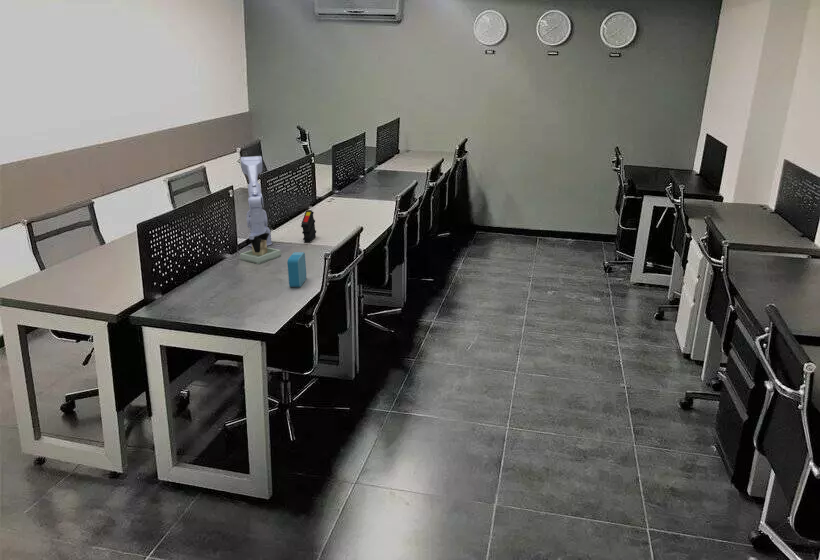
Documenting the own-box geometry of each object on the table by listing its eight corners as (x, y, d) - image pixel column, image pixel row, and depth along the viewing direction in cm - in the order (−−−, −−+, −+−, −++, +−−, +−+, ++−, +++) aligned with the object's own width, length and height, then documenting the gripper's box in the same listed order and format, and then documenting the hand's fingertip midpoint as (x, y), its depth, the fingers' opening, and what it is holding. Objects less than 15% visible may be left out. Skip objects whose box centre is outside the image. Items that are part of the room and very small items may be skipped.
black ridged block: (318, 232, 344) (313, 209, 333) (312, 249, 335) (307, 226, 324) (311, 232, 344) (305, 209, 334) (305, 249, 335) (299, 226, 325)
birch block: (257, 251, 311) (256, 239, 309) (267, 252, 310) (266, 240, 308) (252, 254, 307) (251, 242, 305) (262, 255, 305) (261, 242, 303)
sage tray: (263, 252, 318) (262, 246, 317) (281, 256, 311) (280, 250, 310) (240, 259, 307) (240, 253, 306) (258, 264, 300) (258, 257, 299)
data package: (296, 278, 281) (294, 251, 277) (306, 278, 281) (304, 251, 277) (289, 288, 270) (287, 259, 266) (300, 288, 270) (298, 260, 266)
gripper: (257, 217, 311) (259, 245, 315) (241, 225, 298) (244, 254, 302) (271, 218, 309) (273, 246, 313) (255, 226, 296) (258, 255, 300)
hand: (260, 250), depth 308 cm, fingers closed on birch block, 5 cm apart
